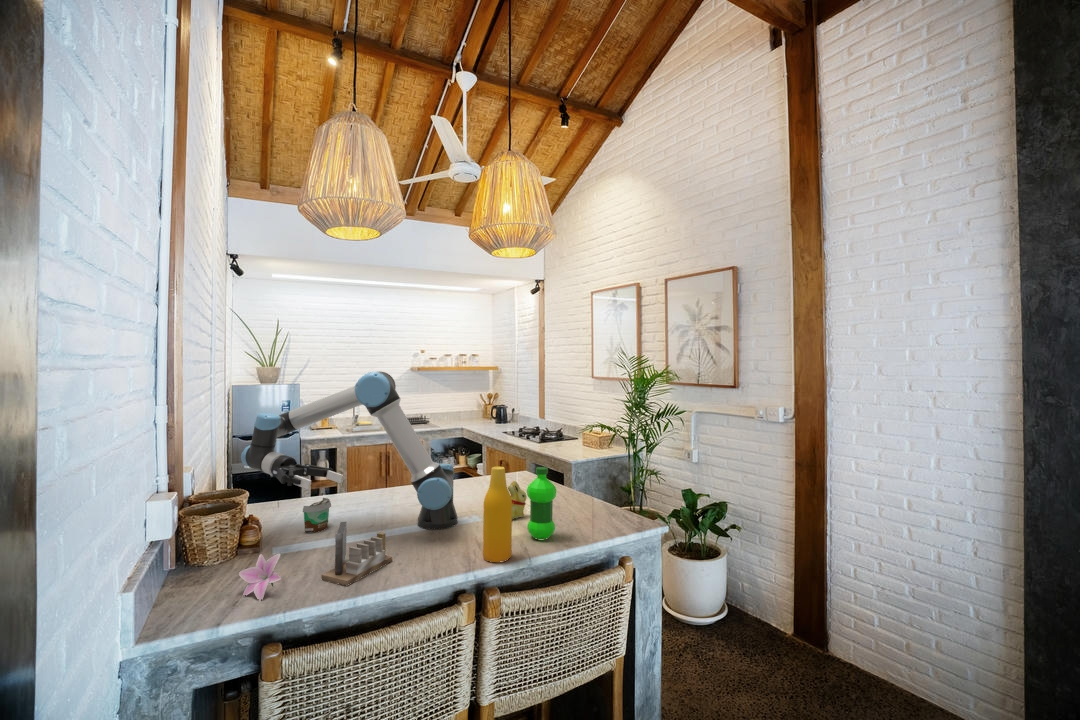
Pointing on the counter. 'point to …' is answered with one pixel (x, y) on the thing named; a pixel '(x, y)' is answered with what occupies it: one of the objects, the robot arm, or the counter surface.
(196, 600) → the counter surface
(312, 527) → the food container
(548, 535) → the plastic bottle
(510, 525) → the beer bottle
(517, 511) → the chocolate bunny
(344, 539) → the grey stone panel
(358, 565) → the grey model on base
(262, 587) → the lily
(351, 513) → the counter surface
